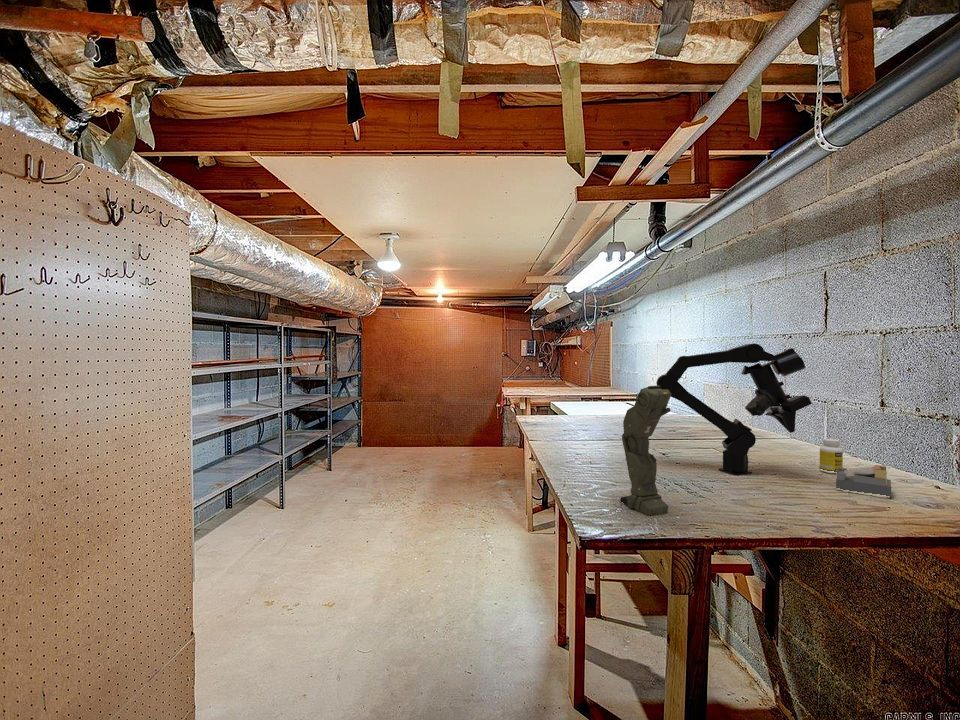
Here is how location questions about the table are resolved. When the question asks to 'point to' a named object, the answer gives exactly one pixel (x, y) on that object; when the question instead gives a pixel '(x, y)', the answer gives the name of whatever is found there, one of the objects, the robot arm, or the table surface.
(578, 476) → the table surface
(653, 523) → the table surface
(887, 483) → the grey tray
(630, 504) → the mechanical leg
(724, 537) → the table surface
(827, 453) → the supplement bottle
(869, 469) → the beige flat panel
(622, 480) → the table surface
